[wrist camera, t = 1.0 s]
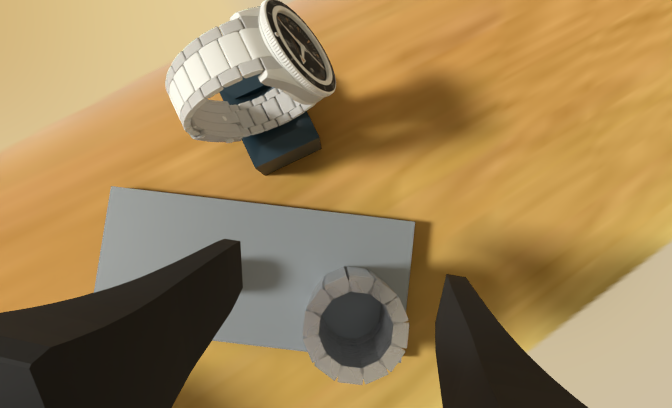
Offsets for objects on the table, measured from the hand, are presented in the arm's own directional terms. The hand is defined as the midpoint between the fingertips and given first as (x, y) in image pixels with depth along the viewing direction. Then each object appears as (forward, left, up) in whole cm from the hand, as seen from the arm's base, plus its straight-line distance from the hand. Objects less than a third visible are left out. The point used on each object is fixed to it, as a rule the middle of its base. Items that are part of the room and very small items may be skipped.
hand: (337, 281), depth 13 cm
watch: (+9, +5, -13) cm, 16 cm away
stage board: (-2, +5, -12) cm, 13 cm away
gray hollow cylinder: (-3, -1, -11) cm, 12 cm away
